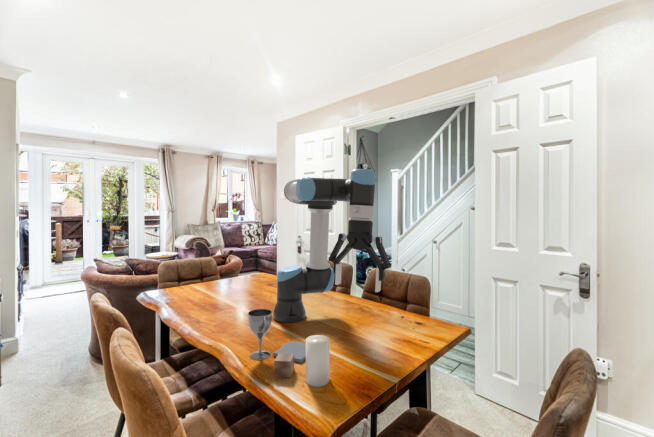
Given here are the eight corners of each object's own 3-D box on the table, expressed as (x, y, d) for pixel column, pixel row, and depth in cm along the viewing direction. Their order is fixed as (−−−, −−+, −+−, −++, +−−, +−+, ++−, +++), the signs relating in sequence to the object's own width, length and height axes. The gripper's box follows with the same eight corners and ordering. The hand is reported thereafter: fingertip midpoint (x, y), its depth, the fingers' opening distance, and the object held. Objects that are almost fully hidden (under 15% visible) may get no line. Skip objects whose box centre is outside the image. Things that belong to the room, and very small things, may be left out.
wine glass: (250, 350, 110) (250, 308, 110) (272, 349, 111) (272, 308, 110) (246, 361, 102) (246, 316, 102) (270, 360, 103) (270, 315, 103)
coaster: (273, 356, 106) (273, 352, 106) (290, 343, 116) (290, 340, 116) (301, 363, 101) (301, 359, 101) (316, 349, 111) (316, 346, 111)
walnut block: (274, 377, 93) (274, 360, 93) (278, 368, 98) (278, 353, 98) (290, 378, 92) (290, 361, 92) (294, 369, 97) (294, 353, 97)
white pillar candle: (301, 382, 90) (301, 342, 89) (312, 371, 96) (312, 333, 96) (322, 389, 86) (322, 346, 86) (333, 377, 93) (333, 337, 92)
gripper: (320, 217, 99) (316, 283, 99) (396, 221, 86) (392, 297, 87) (331, 217, 105) (328, 279, 106) (403, 221, 93) (400, 291, 93)
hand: (357, 287), depth 96 cm, fingers open, 13 cm apart
